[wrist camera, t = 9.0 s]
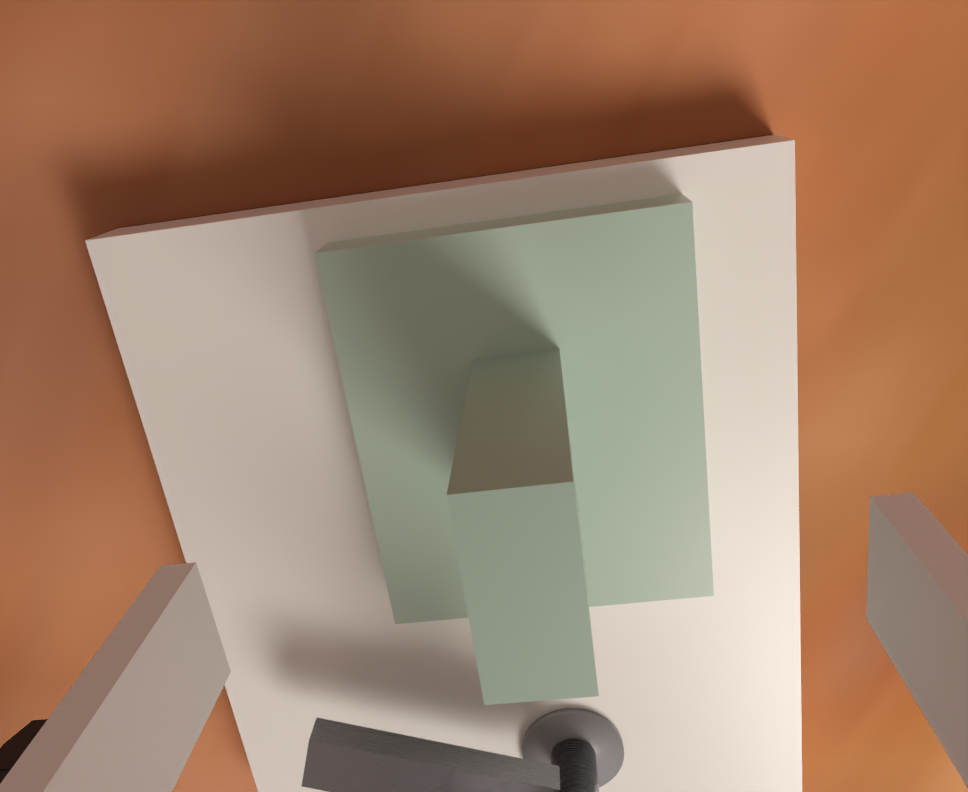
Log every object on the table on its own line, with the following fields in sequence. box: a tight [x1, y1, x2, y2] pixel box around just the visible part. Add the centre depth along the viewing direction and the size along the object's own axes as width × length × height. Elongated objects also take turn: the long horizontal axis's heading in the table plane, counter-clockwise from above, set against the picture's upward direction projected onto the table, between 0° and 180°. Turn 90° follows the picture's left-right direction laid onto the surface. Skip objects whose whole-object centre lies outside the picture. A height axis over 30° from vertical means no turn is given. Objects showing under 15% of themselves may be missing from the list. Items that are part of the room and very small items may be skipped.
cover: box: [314, 194, 714, 705], centre depth 21 cm, size 12×10×10 cm
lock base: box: [85, 135, 802, 792], centre depth 28 cm, size 23×20×2 cm
